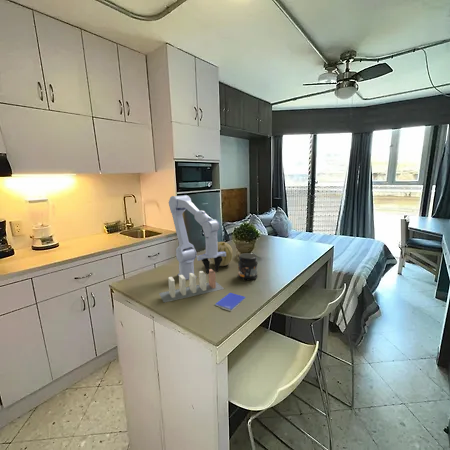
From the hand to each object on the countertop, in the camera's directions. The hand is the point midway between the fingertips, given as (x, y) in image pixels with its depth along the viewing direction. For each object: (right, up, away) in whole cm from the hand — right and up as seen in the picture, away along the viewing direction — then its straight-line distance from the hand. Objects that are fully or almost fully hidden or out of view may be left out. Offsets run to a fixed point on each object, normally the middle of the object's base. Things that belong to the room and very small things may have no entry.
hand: (212, 272), depth 122 cm
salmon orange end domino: (0, -7, +2) cm, 7 cm away
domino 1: (-18, -9, -7) cm, 21 cm away
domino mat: (-9, -9, -3) cm, 13 cm away
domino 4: (-4, -8, -1) cm, 9 cm away
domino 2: (-13, -9, -5) cm, 17 cm away
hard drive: (+9, -11, -13) cm, 19 cm away
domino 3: (-9, -8, -3) cm, 12 cm away
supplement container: (+19, -5, +14) cm, 24 cm away
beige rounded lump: (+4, -2, +32) cm, 32 cm away
